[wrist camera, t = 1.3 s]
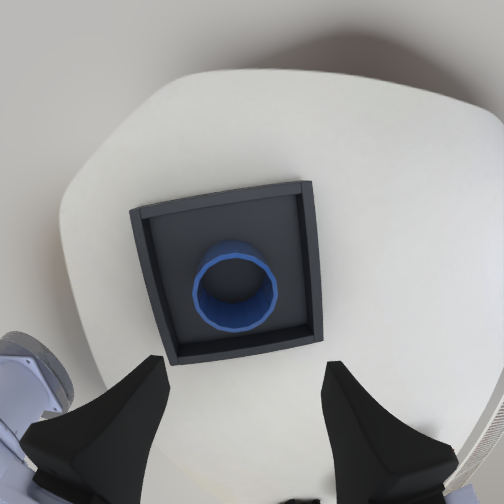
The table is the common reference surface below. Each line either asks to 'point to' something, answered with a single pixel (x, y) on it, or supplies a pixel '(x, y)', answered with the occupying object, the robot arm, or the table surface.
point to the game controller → (292, 503)
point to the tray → (232, 268)
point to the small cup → (238, 313)
